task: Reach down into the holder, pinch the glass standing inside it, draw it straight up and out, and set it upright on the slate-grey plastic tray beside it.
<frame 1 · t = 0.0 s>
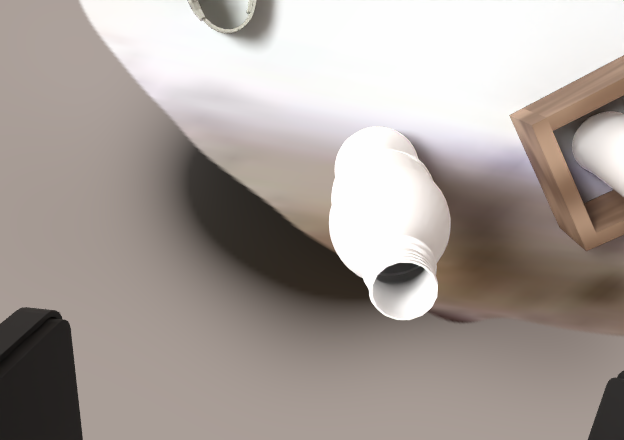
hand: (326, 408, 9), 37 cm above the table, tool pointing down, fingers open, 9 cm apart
water bottle: (374, 160, 45), on the table
holder: (601, 141, 43), on the table
drinking glass: (599, 140, 43), resting in holder
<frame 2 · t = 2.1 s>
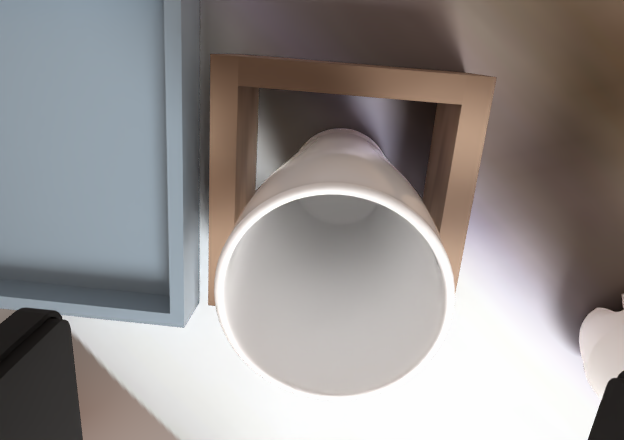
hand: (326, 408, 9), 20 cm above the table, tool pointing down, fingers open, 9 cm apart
tray: (62, 149, 28), on the table
holder: (340, 174, 27), on the table
drinking glass: (340, 173, 28), resting in holder
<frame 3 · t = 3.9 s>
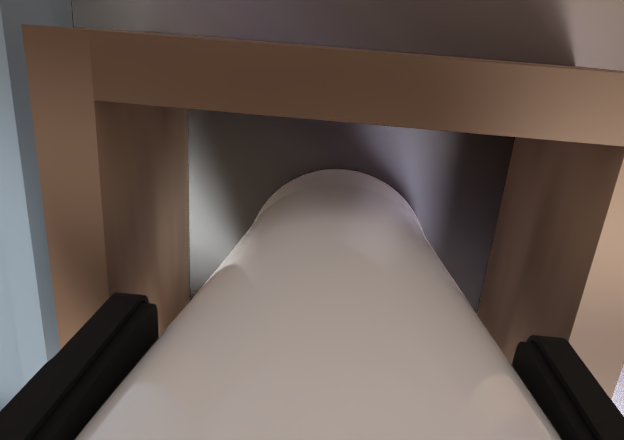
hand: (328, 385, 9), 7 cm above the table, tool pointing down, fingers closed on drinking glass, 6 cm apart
holder: (336, 247, 15), on the table
drinking glass: (336, 243, 16), resting in holder, touching gripper
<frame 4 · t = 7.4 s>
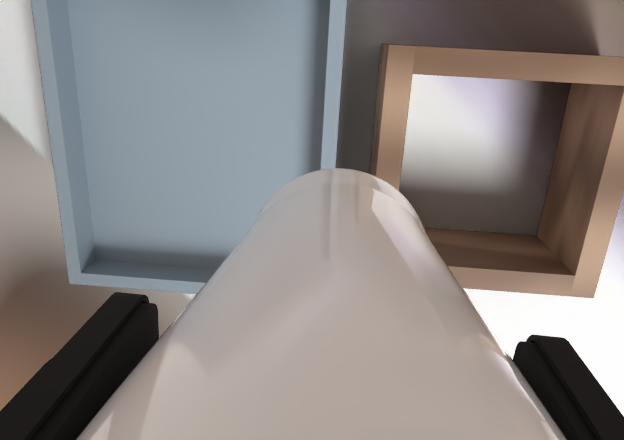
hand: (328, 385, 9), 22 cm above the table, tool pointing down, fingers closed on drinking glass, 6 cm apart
tray: (205, 138, 30), on the table
holder: (472, 155, 29), on the table
drinking glass: (338, 243, 16), point 15 cm above the table, touching gripper
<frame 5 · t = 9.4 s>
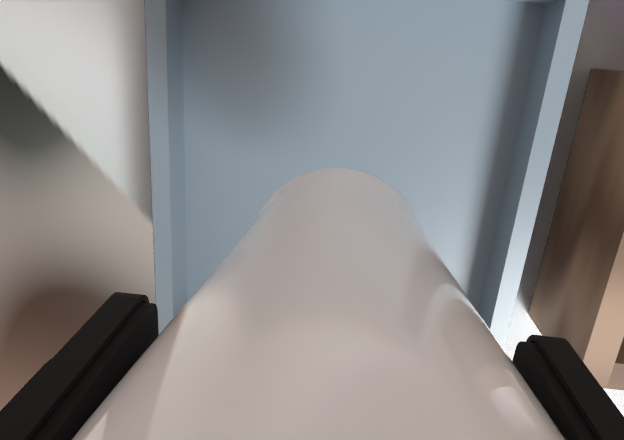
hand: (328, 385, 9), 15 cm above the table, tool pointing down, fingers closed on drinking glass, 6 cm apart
tray: (341, 182, 23), on the table
drinking glass: (337, 242, 16), point 8 cm above the table, touching gripper
when the fingers open (9 cm above the table, at t = 11.0 s): drinking glass drops 1 cm, resting on tray.
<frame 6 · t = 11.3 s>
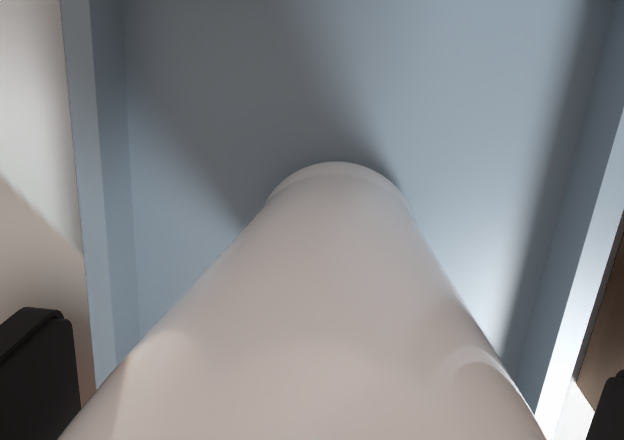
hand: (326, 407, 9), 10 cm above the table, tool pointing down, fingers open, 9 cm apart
tray: (338, 219, 18), on the table
drinking glass: (337, 230, 17), point 1 cm above the table, touching tray
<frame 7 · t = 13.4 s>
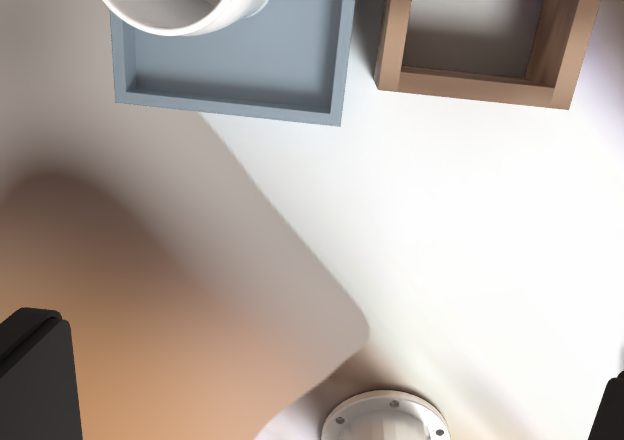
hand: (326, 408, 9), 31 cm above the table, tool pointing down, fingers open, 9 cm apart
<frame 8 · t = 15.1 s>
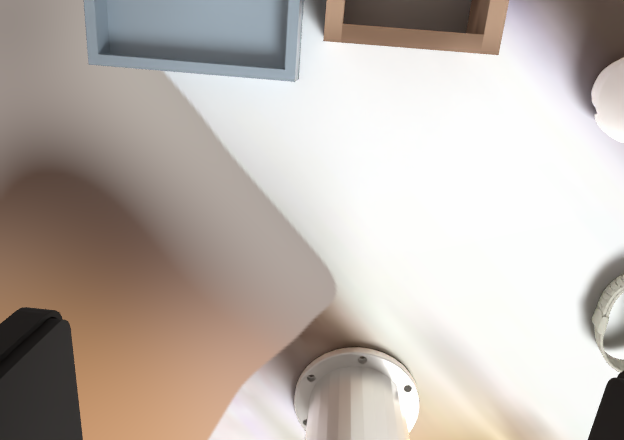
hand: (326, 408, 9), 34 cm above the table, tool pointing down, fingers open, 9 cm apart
wristwatch: (620, 310, 45), on the table
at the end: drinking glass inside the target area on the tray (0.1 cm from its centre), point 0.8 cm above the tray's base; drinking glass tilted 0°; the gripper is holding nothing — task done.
